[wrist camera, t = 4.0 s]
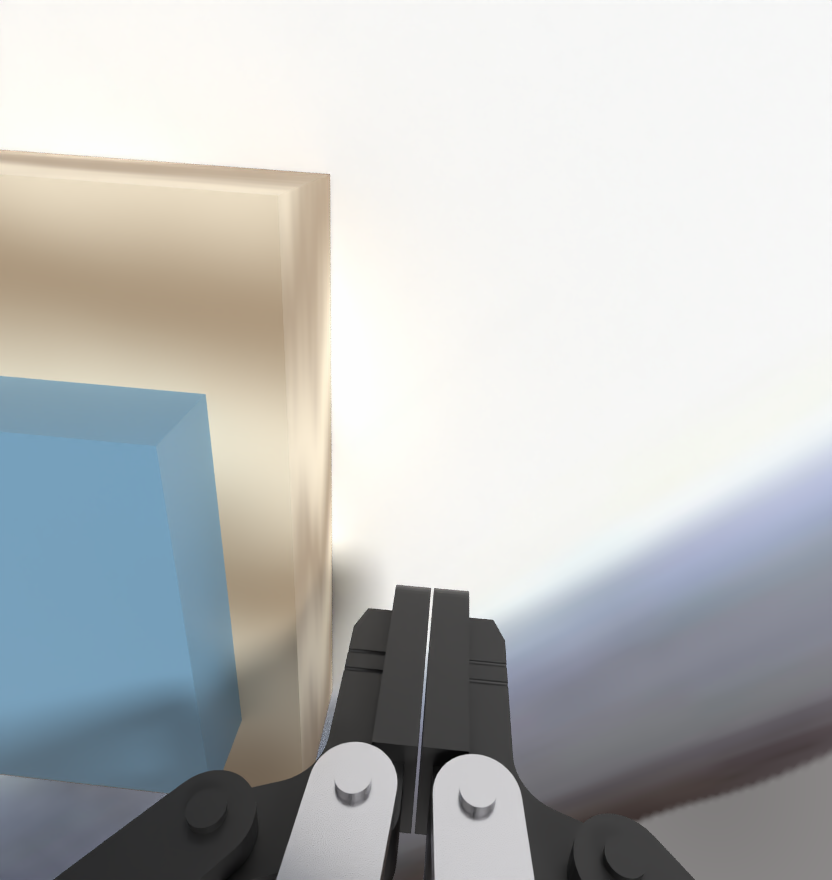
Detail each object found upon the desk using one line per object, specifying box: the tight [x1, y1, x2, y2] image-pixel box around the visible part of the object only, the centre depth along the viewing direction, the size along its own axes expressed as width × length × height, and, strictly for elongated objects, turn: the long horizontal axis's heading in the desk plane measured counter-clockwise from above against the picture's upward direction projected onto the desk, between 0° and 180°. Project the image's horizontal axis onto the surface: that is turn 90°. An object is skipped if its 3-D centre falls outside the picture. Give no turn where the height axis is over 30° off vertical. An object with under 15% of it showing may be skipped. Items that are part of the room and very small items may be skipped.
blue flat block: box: [0, 376, 242, 793], centre depth 12 cm, size 9×6×2 cm, turn 176°
